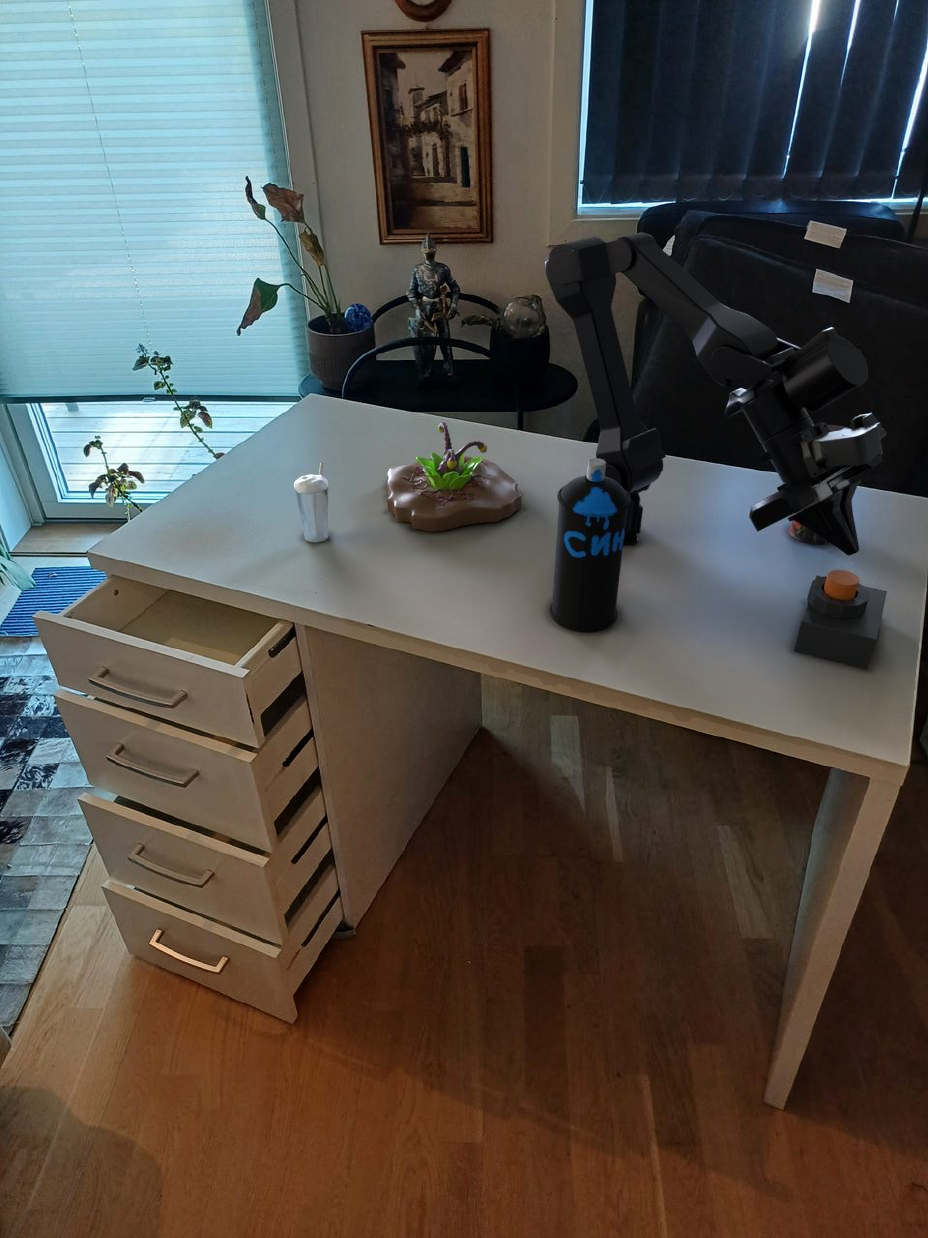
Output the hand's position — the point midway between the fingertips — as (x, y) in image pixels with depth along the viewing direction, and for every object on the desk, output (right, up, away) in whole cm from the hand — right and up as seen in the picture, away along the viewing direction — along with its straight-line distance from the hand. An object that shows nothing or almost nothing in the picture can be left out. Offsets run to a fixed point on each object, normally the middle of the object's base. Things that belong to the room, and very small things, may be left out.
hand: (854, 553), depth 100 cm
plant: (-45, +11, +36) cm, 59 cm away
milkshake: (-64, +4, +26) cm, 69 cm away
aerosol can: (-29, -7, +10) cm, 31 cm away
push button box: (+1, -9, +6) cm, 11 cm away
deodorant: (+5, +4, +26) cm, 27 cm away
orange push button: (0, -4, +3) cm, 5 cm away
